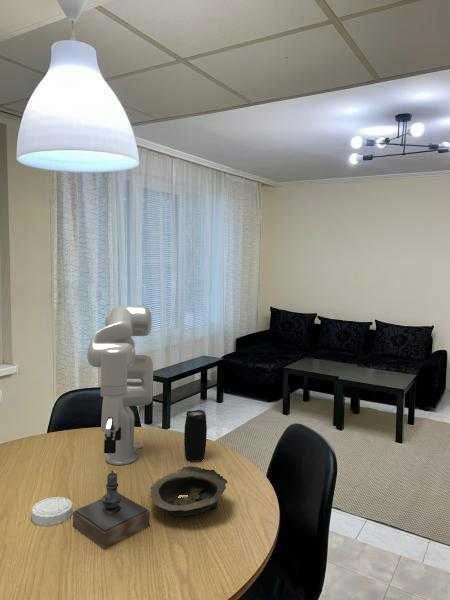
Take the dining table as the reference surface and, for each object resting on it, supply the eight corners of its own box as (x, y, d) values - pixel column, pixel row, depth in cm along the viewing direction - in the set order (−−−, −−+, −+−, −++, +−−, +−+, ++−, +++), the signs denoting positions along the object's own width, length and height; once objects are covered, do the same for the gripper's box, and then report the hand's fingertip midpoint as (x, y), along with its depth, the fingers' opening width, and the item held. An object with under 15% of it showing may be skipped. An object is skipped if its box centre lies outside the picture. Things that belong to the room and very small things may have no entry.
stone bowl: (235, 496, 154) (236, 470, 152) (209, 542, 130) (209, 512, 129) (170, 481, 162) (170, 457, 160) (134, 522, 138) (134, 495, 137)
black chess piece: (116, 515, 130) (117, 475, 129) (97, 513, 131) (98, 473, 130) (125, 505, 136) (125, 467, 135) (107, 503, 137) (107, 464, 136)
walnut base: (117, 506, 145) (117, 491, 145) (149, 525, 134) (149, 509, 134) (72, 526, 133) (72, 510, 132) (104, 549, 122) (104, 531, 122)
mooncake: (31, 509, 141) (31, 498, 141) (71, 503, 146) (71, 492, 146) (31, 530, 131) (31, 518, 130) (74, 522, 135) (74, 510, 135)
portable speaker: (179, 460, 182) (180, 412, 181) (193, 452, 190) (194, 407, 189) (196, 465, 177) (197, 417, 176) (209, 457, 185) (211, 411, 184)
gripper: (106, 382, 140) (105, 435, 141) (94, 397, 122) (93, 458, 124) (130, 382, 140) (129, 435, 141) (122, 398, 123) (121, 458, 124)
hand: (112, 446), depth 132 cm, fingers open, 9 cm apart
